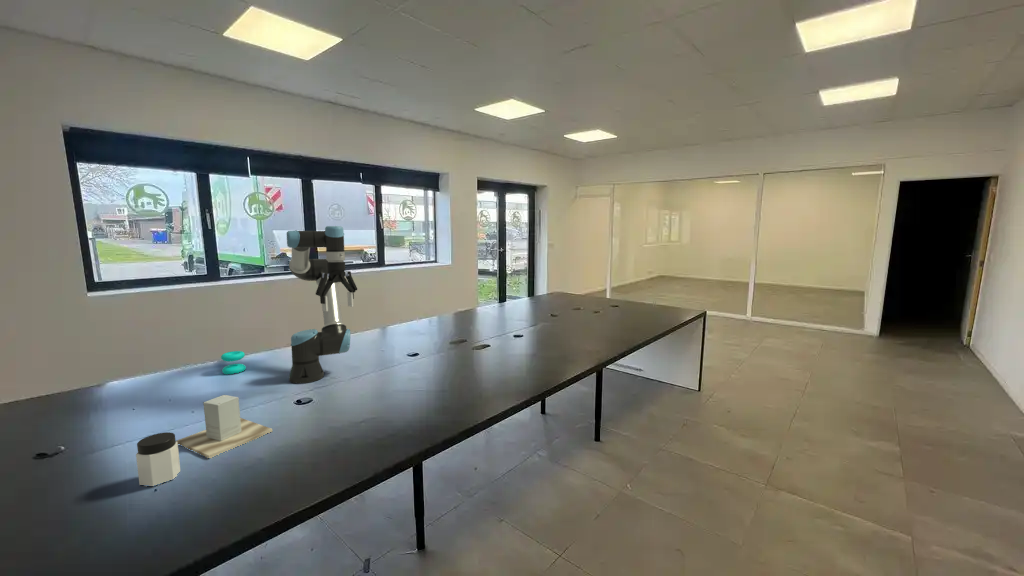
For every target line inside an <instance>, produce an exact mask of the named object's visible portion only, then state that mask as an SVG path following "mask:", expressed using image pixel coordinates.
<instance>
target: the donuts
mask: <svg viewBox="0 0 1024 576" xmlns="http://www.w3.org/2000/svg"><path fill="white" fill-rule="evenodd" d="M245 355H246V354H245V352H244V351H242V350H234V351H228V352H225V353H223V354H222V355H220V359H221V360H222V361H224V362H229V363H230V364H228V365H226V366H223V368H222V369H221V371H222V374H224V375H228V374H230V375H235V374H234V373H237V374H240V373H239V372H241V373H243V372H245V371H246V370H247V369H246V368H247V367H246V365H245V364H244V363H231V362H237V361H240V360H242V359H243V358H244V357H245ZM244 370H245V371H244ZM242 371H243V372H242Z"/></svg>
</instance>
